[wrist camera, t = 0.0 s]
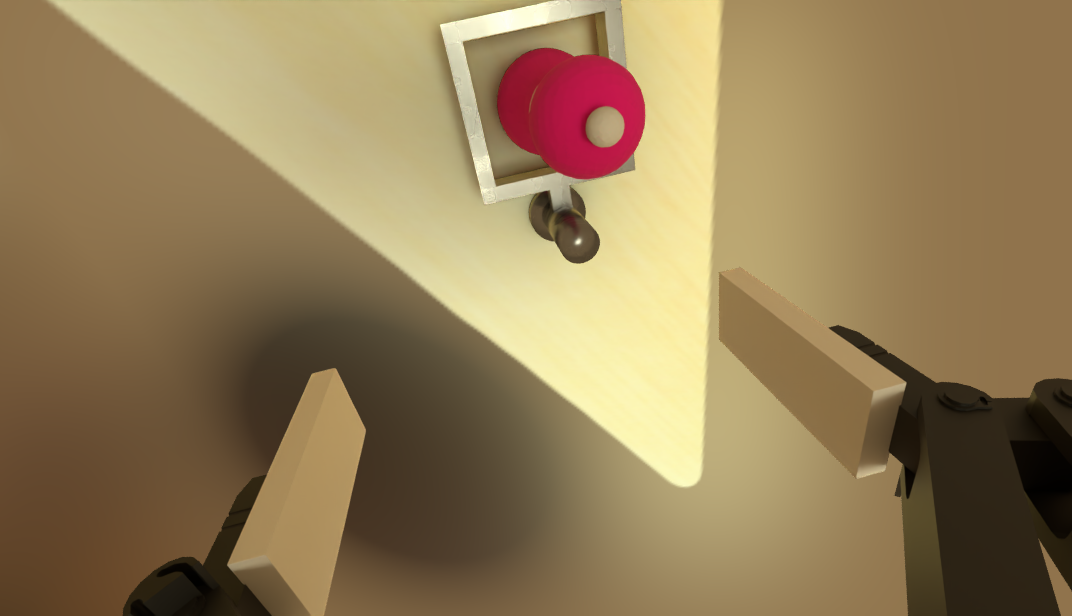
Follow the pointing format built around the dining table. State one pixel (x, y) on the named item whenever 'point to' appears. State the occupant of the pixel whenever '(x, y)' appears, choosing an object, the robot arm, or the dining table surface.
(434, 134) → the dining table surface
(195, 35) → the dining table surface
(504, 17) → the square frame with post
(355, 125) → the dining table surface
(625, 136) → the pepper mill
